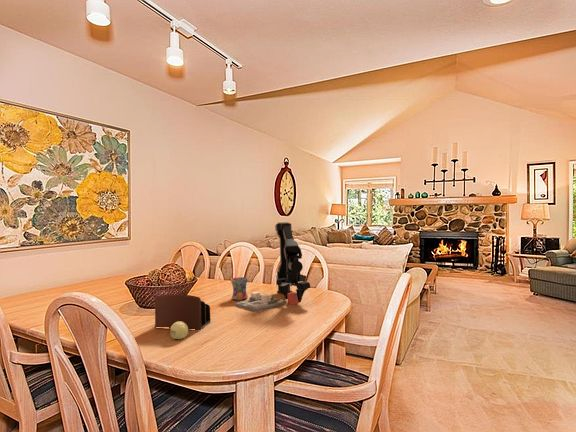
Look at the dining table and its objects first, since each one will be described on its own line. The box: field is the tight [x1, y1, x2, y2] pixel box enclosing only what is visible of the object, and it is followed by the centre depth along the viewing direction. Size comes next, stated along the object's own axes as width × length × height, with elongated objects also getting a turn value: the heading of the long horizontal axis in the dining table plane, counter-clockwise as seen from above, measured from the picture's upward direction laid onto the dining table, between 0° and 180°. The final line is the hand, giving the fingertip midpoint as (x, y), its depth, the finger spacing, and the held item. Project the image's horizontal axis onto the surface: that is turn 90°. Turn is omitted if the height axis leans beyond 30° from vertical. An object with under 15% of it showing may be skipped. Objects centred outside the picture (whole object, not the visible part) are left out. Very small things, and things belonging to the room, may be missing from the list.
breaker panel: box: [235, 294, 288, 313], centre depth 167 cm, size 19×17×3 cm
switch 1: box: [250, 291, 261, 301], centre depth 171 cm, size 3×4×4 cm
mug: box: [230, 276, 249, 301], centre depth 180 cm, size 12×9×11 cm
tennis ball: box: [169, 321, 189, 340], centre depth 125 cm, size 6×7×7 cm
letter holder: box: [154, 294, 212, 331], centre depth 139 cm, size 10×20×14 cm, turn 80°
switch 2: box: [260, 293, 272, 303], centre depth 165 cm, size 3×4×4 cm
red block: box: [287, 291, 300, 306], centre depth 168 cm, size 4×4×5 cm
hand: (293, 300), depth 168 cm, fingers open, 9 cm apart
